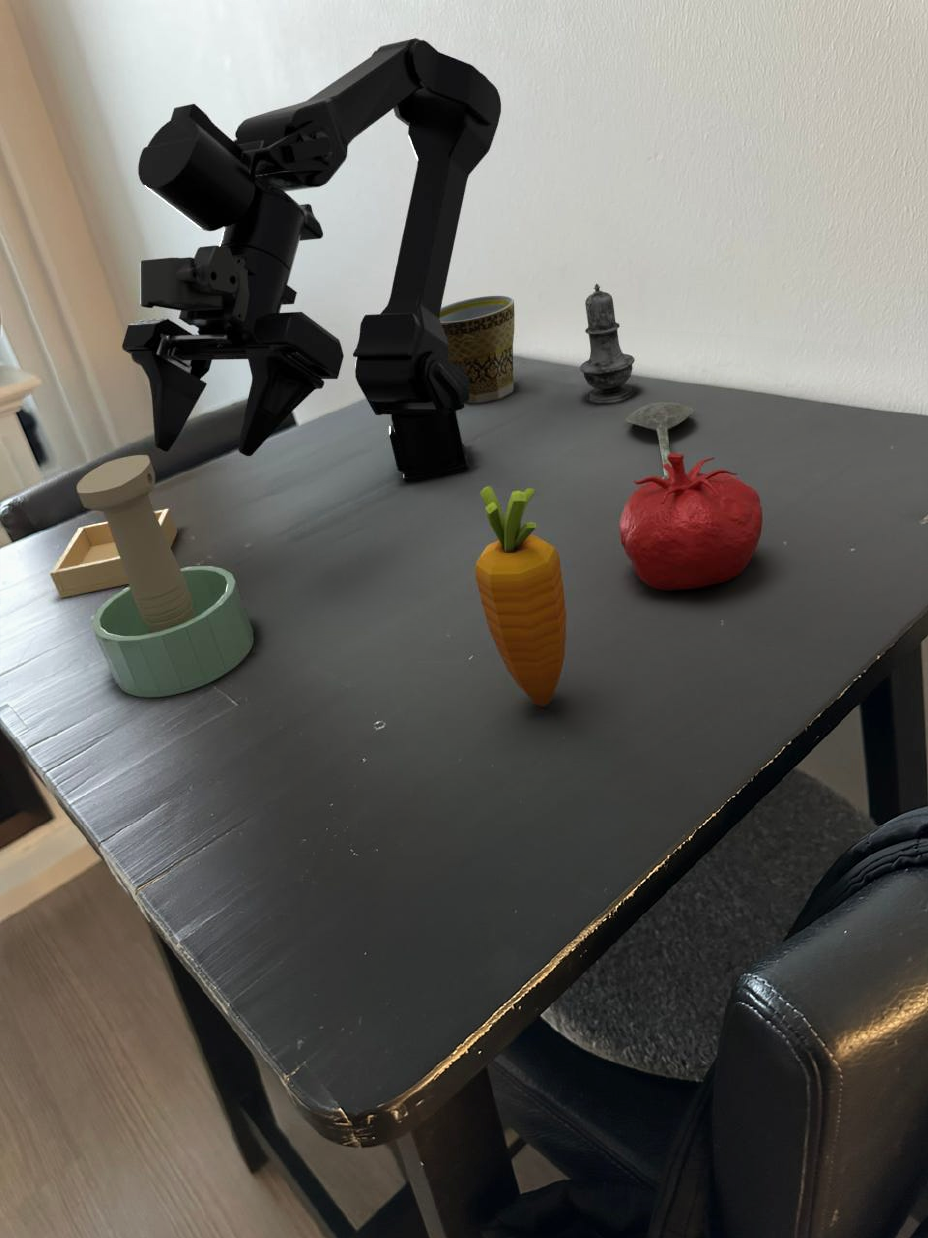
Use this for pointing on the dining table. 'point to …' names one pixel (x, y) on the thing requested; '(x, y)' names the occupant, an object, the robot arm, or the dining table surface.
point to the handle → (139, 539)
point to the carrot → (523, 598)
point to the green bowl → (176, 638)
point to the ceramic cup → (482, 344)
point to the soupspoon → (661, 422)
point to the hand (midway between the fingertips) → (201, 451)
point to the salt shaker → (605, 353)
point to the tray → (97, 558)
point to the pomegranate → (690, 527)
